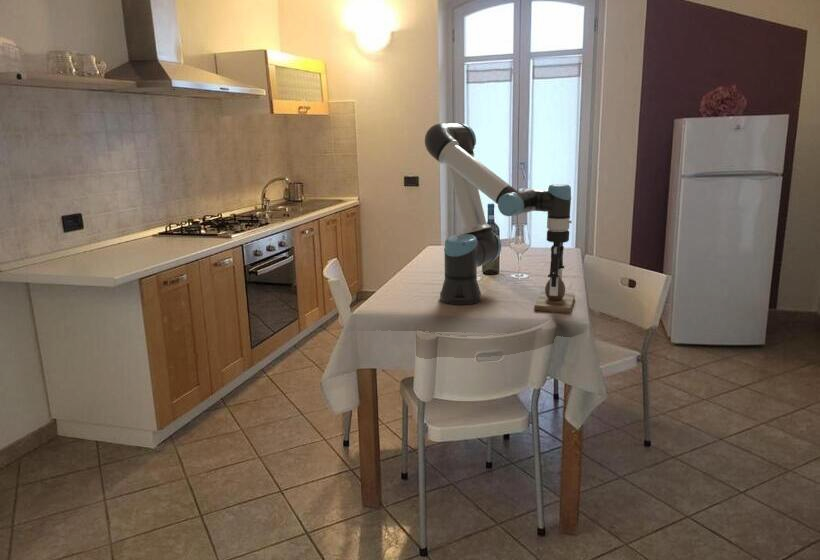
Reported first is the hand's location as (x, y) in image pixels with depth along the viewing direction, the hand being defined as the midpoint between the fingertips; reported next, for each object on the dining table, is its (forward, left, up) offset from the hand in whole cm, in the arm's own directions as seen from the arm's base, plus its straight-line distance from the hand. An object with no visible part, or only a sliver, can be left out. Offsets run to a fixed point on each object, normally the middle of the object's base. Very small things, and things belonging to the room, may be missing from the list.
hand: (555, 291), depth 217 cm
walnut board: (0, 0, -5) cm, 5 cm away
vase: (0, 0, -3) cm, 3 cm away
